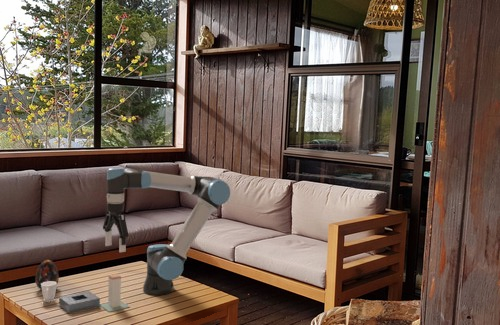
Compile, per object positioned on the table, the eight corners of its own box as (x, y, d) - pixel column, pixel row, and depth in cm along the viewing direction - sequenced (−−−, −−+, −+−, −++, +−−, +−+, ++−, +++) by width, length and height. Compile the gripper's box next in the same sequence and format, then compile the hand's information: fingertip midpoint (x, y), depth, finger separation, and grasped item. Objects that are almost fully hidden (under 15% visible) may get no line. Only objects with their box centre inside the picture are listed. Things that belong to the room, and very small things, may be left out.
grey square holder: (88, 299, 244) (88, 290, 243) (99, 306, 235) (99, 298, 234) (59, 305, 235) (59, 296, 234) (69, 313, 226) (69, 304, 225)
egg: (48, 284, 262) (48, 255, 260) (63, 288, 257) (63, 259, 255) (30, 290, 252) (30, 260, 251) (45, 294, 247) (45, 264, 246)
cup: (57, 297, 245) (57, 280, 244) (55, 304, 235) (55, 287, 235) (42, 297, 243) (42, 281, 243) (38, 305, 234) (38, 288, 233)
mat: (119, 300, 243) (119, 300, 243) (129, 307, 235) (129, 306, 235) (99, 305, 236) (99, 304, 236) (109, 312, 229) (109, 311, 229)
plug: (116, 303, 238) (116, 273, 237) (120, 305, 235) (120, 276, 234) (108, 305, 236) (108, 275, 234) (112, 307, 233) (112, 277, 231)
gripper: (95, 199, 238) (95, 244, 240) (121, 207, 220) (120, 256, 222) (110, 197, 243) (110, 241, 245) (136, 205, 225) (136, 253, 227)
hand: (115, 248), depth 234 cm, fingers open, 13 cm apart
